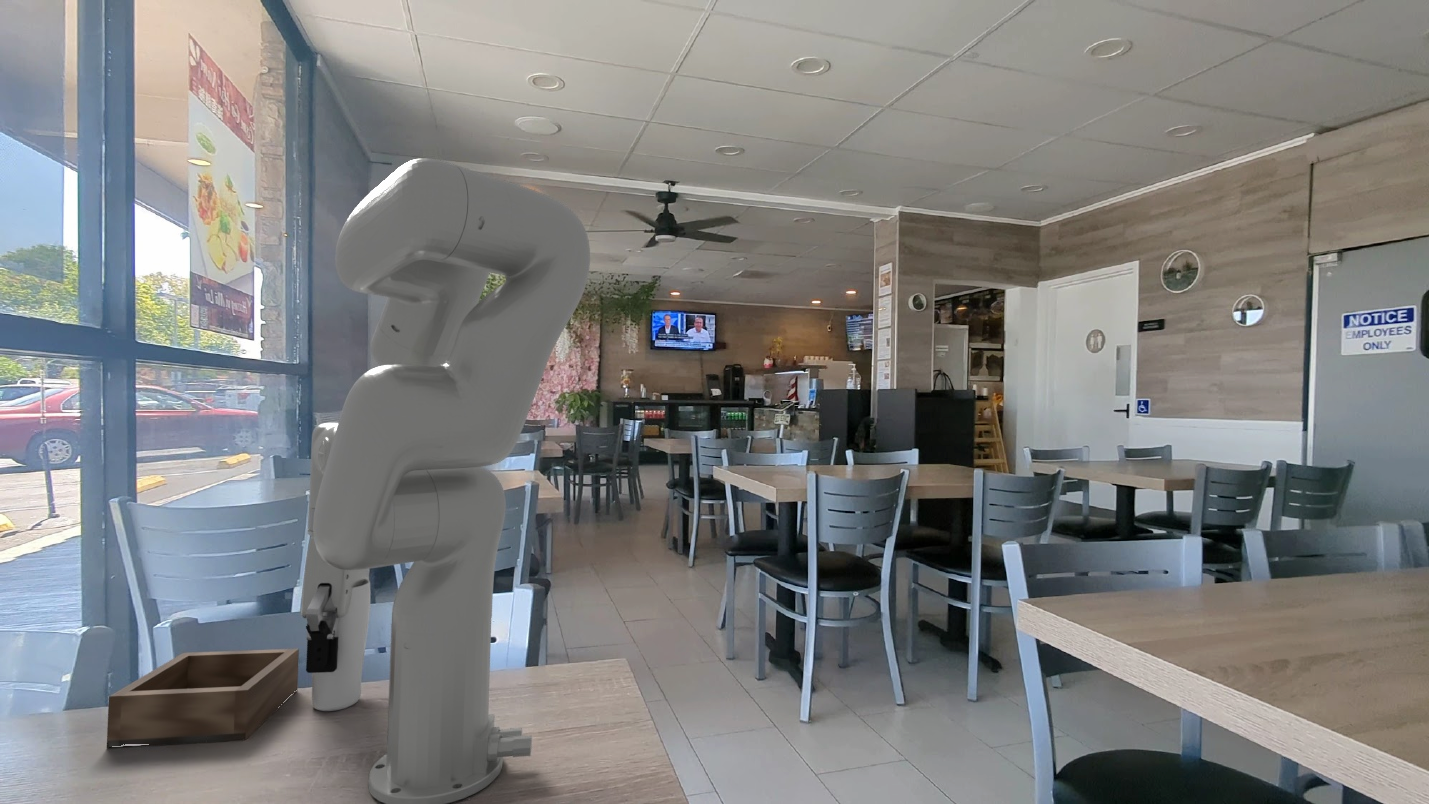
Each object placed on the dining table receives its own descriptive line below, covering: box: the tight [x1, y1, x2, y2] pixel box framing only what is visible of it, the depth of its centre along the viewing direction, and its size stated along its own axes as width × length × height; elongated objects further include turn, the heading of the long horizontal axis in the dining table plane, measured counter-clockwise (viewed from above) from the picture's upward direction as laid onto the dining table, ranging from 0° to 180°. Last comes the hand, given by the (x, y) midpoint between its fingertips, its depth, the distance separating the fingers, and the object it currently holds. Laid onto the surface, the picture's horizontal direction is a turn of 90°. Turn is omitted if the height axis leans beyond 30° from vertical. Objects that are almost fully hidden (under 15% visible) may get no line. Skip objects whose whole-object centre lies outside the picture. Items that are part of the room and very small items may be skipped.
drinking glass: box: [310, 579, 371, 712], centre depth 84 cm, size 7×7×15 cm
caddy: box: [106, 648, 300, 749], centre depth 80 cm, size 13×13×6 cm
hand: (336, 656), depth 84 cm, fingers open, 9 cm apart
